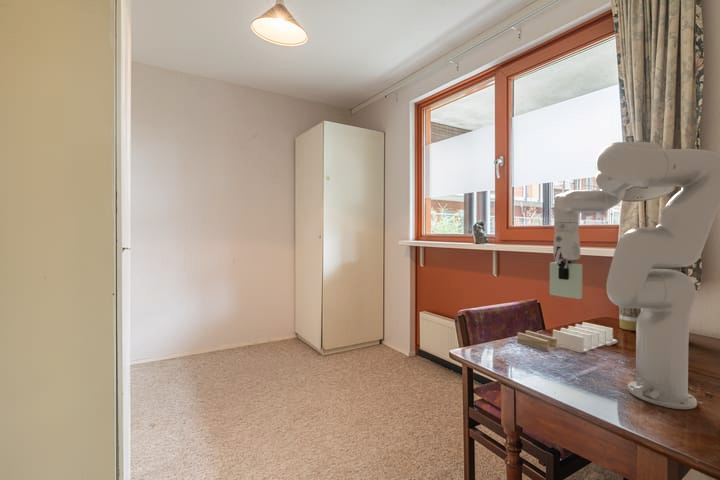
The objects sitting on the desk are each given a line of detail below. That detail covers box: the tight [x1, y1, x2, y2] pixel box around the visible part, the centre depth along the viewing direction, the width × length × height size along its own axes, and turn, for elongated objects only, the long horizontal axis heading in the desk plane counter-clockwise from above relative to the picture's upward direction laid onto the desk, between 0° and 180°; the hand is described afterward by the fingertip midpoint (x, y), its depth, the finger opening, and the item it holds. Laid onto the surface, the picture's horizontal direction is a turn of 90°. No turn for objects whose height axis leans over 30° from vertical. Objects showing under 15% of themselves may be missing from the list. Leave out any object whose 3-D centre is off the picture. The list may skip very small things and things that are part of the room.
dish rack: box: [552, 321, 618, 354], centre depth 120 cm, size 25×11×6 cm, turn 120°
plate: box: [549, 261, 583, 300], centre depth 119 cm, size 2×10×12 cm, turn 32°
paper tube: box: [619, 307, 642, 332], centre depth 138 cm, size 7×7×25 cm
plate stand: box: [516, 330, 560, 352], centre depth 118 cm, size 7×12×4 cm, turn 30°
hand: (565, 278), depth 119 cm, fingers closed on plate, 2 cm apart
